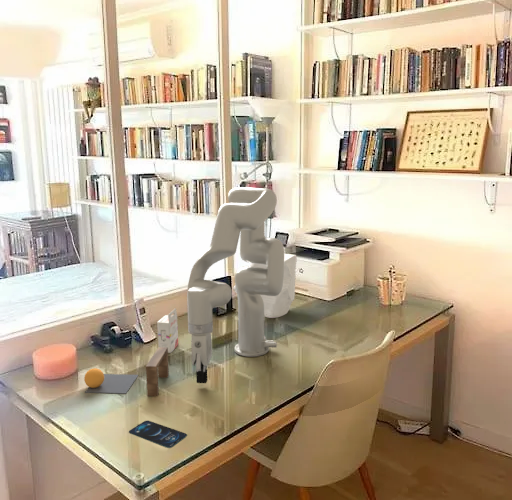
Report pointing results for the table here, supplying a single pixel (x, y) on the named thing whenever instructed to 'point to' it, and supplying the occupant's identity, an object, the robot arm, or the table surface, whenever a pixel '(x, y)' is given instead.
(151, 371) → the bridge
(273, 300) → the white curved block
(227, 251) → the robot arm
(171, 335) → the ink cartridge box
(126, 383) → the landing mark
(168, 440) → the smartphone
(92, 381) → the ball
